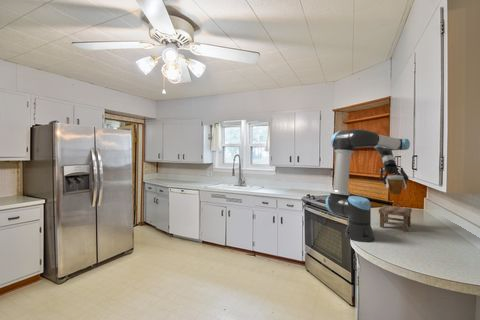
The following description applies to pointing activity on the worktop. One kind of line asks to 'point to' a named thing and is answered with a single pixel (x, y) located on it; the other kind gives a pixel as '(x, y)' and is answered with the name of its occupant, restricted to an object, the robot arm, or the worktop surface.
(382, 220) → the walnut stool
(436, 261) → the worktop surface
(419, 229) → the worktop surface
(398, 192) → the disposable coffee cup
